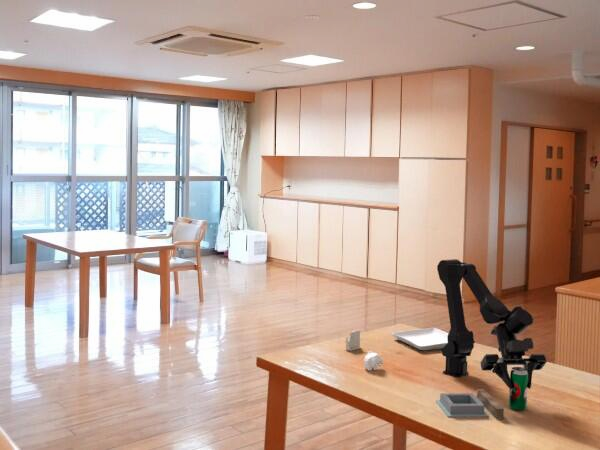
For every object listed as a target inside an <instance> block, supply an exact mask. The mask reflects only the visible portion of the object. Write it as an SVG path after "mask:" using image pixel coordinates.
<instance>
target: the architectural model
mask: <svg viewBox="0 0 600 450" xmlns="http://www.w3.org/2000/svg"><path fill="white" fill-rule="evenodd" d="M345 338H346V339H344V340H343V342H345V350H346V351H350V352H351V351H354V350H358V349H360V348H361V344H360V343H361V341H362V339H361V330H357V331H356V330H352V331H351V332H349V335H348V337H345Z"/></svg>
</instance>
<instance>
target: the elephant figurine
mask: <svg viewBox="0 0 600 450" xmlns="http://www.w3.org/2000/svg"><path fill="white" fill-rule="evenodd" d="M362 361H363V365H364V368H365V369H366V370H367V371H369V372H371V371H372V370H373V371H377V370H378V367H381V366H383V364H384V361H383V359H382V356H381V355H380V354H378V353H376V352H374V351H373V350H369V351H368V352H367V353H366V355H365V357H364V359H362Z"/></svg>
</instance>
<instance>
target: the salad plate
mask: <svg viewBox="0 0 600 450" xmlns="http://www.w3.org/2000/svg"><path fill="white" fill-rule="evenodd" d="M391 334H392V336H393V337H394V338H395V339H397V340H399V341H401V342H403V343H405V344H407V345H409V346H411V347H413V348H415V349H417V350H419V351H430V350H438V349H439V350H442V348H443V347H444V346H445V345H446V344H447V343H448V334H449V332H446V331H444V330H442V329H438V328H436V327H428V328H419V329H417V328H416V329H409V330H403V331H397V332H391Z"/></svg>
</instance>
